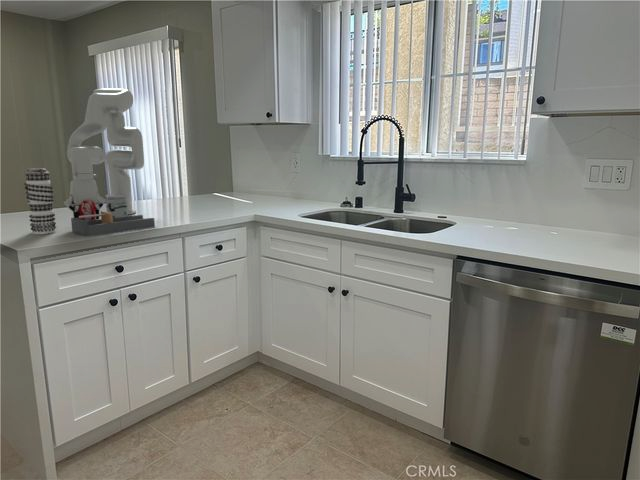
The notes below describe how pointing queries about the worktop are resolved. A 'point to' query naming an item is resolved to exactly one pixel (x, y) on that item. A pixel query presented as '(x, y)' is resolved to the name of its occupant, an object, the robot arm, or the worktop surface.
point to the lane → (110, 225)
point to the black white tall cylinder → (40, 201)
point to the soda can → (87, 210)
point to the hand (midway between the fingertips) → (87, 219)
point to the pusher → (102, 217)
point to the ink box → (117, 205)
